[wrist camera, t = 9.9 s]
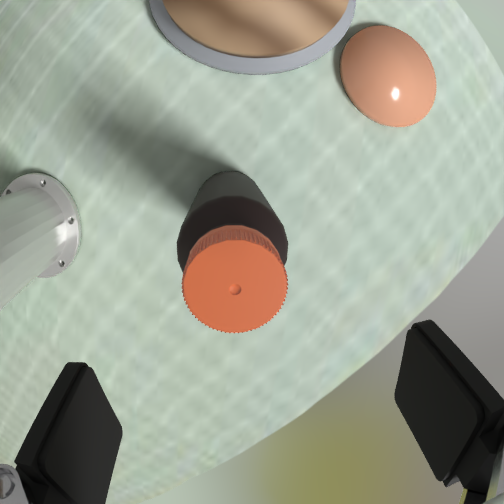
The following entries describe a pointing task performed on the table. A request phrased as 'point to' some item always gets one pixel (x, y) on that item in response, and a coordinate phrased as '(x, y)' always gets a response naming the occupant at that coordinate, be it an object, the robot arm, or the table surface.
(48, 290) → the table surface
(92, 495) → the robot arm
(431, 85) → the peach dome
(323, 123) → the table surface
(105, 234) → the table surface
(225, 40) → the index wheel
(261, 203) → the vinegar
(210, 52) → the wheel base
